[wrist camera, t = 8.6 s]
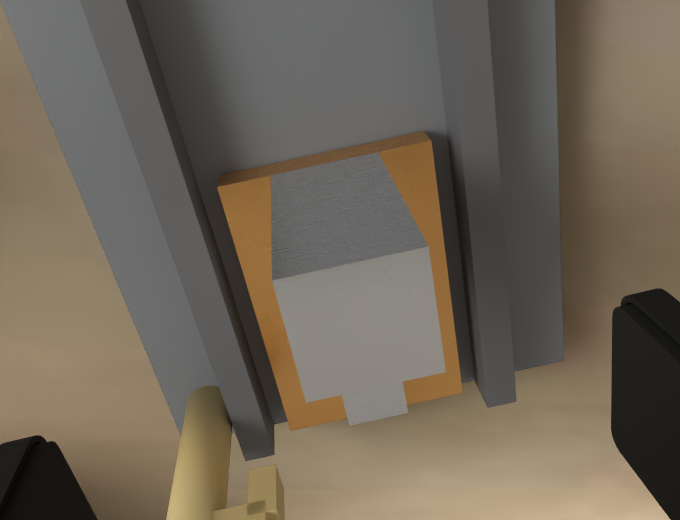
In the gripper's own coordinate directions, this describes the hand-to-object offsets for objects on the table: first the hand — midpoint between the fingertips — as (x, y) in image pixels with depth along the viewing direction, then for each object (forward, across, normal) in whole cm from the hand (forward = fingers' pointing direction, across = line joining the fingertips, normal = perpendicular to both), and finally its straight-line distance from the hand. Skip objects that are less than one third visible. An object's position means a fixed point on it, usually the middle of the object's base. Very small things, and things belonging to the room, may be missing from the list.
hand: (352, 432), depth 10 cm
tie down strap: (+9, -1, +3) cm, 10 cm away
